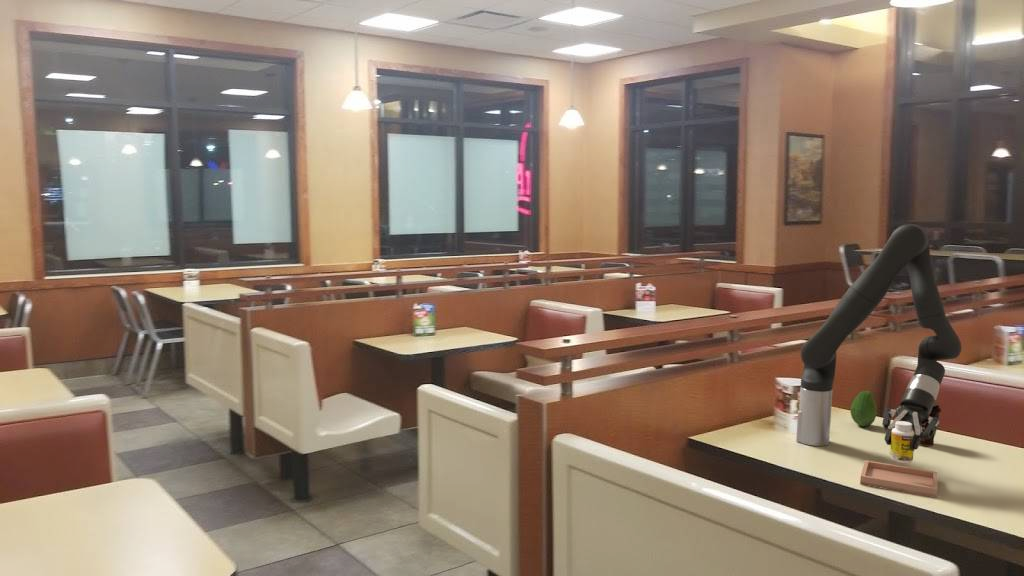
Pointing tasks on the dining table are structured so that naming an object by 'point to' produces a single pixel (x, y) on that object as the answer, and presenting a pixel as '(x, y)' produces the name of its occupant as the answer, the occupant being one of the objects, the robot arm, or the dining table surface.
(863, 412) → the avocado
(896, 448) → the supplement bottle
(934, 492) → the tray
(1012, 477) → the dining table surface
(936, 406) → the coffee cup
